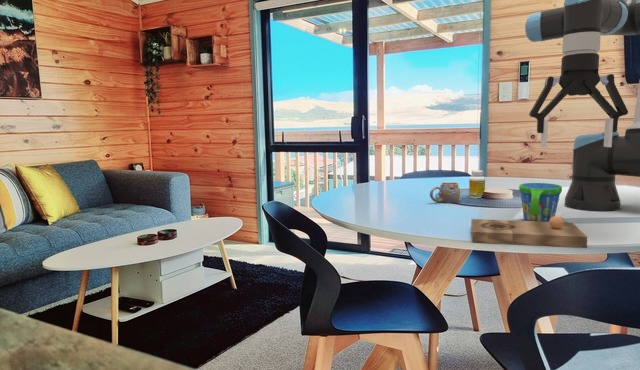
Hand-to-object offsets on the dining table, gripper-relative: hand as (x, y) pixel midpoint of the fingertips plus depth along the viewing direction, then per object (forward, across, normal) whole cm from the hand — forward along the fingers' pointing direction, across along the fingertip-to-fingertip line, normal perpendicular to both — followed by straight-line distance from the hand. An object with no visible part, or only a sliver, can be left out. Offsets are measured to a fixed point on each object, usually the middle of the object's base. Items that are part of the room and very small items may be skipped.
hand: (575, 147), depth 108 cm
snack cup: (+22, +4, -16) cm, 27 cm away
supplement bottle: (+22, +17, -53) cm, 60 cm away
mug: (+22, +29, -43) cm, 56 cm away
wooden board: (+22, +11, +2) cm, 24 cm away
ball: (+18, +4, +2) cm, 18 cm away
